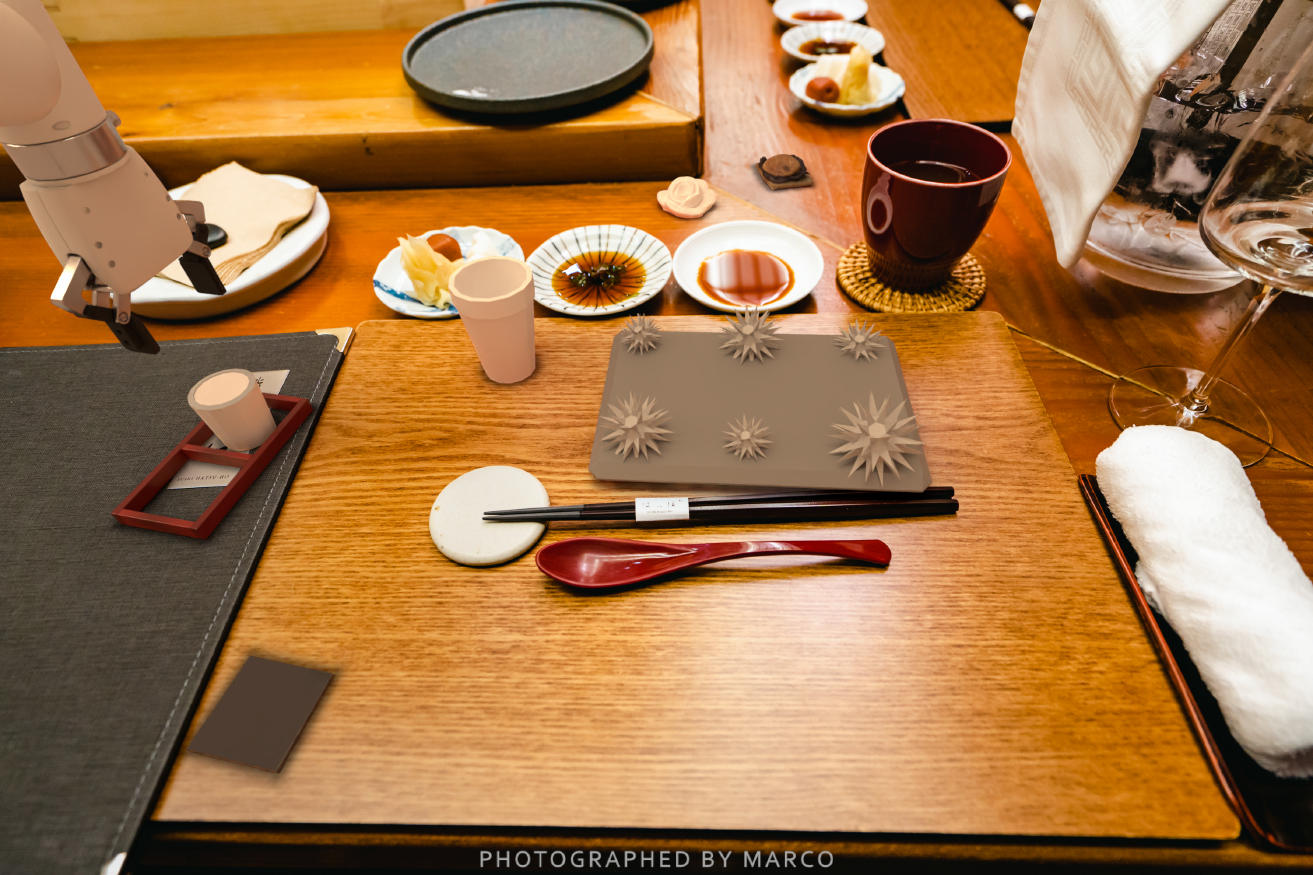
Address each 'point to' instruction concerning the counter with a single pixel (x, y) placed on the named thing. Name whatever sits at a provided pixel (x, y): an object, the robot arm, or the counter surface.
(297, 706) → the slate mat
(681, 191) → the rose
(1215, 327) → the counter surface
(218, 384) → the pink candle cup
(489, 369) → the foam cup
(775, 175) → the chocolate cookie
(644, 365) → the decorative tray
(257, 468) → the frame
